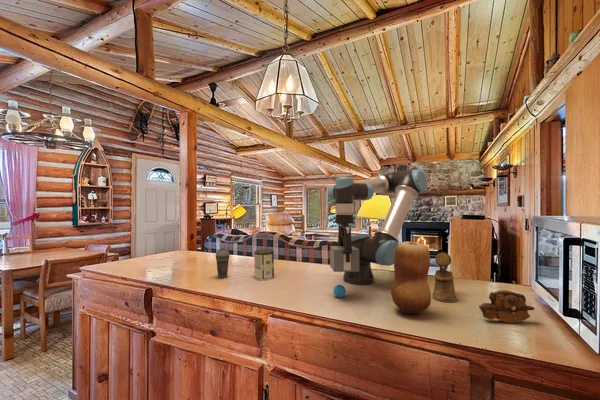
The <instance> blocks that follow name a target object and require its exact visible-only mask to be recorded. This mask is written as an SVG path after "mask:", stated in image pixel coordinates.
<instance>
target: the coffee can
mask: <svg viewBox="0 0 600 400" xmlns="http://www.w3.org/2000/svg"><path fill="white" fill-rule="evenodd" d="M253 253H254V279H255V280H259V281H266V280H267V281H269V280H273V279H274V278H275V258H274V257H275V256H274V255H275V250H273V249H258V250H255V251H254V252H253Z"/></svg>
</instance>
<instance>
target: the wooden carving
mask: <svg viewBox="0 0 600 400" xmlns="http://www.w3.org/2000/svg"><path fill="white" fill-rule="evenodd" d="M488 299H489V300H490V302H485V303H484V302H483V303H482V304H480V305H478V308H479V309H480V312H481V313H482V317H483V318H485V319H487V320H489V321H491V320H495V319H497V320H499V321H501V322H504V323H508V324H509V323H510V324H511V323H512V324H513V323H514V324H515V323H520V322H524V321H525V320H527V319H529V318H530V317H531V314H530V313H529V311H535V309H536V307H534V306H530V305H527V303H526V302H527V299H526V297H525V295H524V294H521V293H519V292H518V293H517V292H515V291H514V292H513V291H510V290H507V289H502V290H501V289H499V290H497V291H494V292H493V291H490V293H489V295H488Z"/></svg>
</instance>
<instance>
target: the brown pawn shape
mask: <svg viewBox="0 0 600 400" xmlns="http://www.w3.org/2000/svg"><path fill="white" fill-rule="evenodd" d="M435 263H436V264H437V265H438V266H439V269H437V270H435V273H434V283H433V285H434V286H433V290H432V293H431V298H432V299H434V300H435V301H438V302H441V303H456V302H458V301H457V300H458V299H457V295H456V291H455V285H454V283H455V282H454V275H453V272H452V271H450V270H447V267H448V266H449V265H450V264H451V263H452V257H451V256H450V255H449V253H447V252H446V251H441V252H438V253H437V254H436V255H435Z"/></svg>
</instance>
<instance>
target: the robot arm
mask: <svg viewBox="0 0 600 400" xmlns="http://www.w3.org/2000/svg"><path fill="white" fill-rule="evenodd" d="M427 179H428V178H427V175H426V174H425V172H424V171H423V170H422V169H415V168H413V169H409V170H400V171H394V172H389V173H386V174H382V175H378V176H376V177H375V178H370V179H364V180H359V181H354V177H352V176H351V177H350V176H339V177H337V178H335V182H334V183H335V184H333V185H331V186H329V188H328V190H327V196H328V198H329V199H330V200H331V201H334V203H335V205H334V206H333V207H334V209H335V213H336V214H335V224H339V225H338V226H337V227H338V228H337V229H338V230H337V231H338V234H337V235H338V236H337V245H336V246H344V252H343V254H344V270H351V253H352V246H354V247H356V248H357V249H359V272H343V276H342V277H343V278H342V281H343V282H345V283H348V284H351V285H361V286H362V285H370V284H373V283H374V282H375V275H374V273H373V270H372V267H371V264H375V265H379V266H387V267H389V266H392V265H393V266H394V257H395V250H396V247H397V246H398V244H400V243H399V239H398V237H399V234H400V232H401V229H402V226H403V225H404V223H405V220H406V218H407V216H408V215H407V214H408V213H409V210H410V208H411V205H412V203H413V201H414V200H416V199H418V197H419V195H420V193H425V192H426V190H427V188H428V180H427ZM375 193H377V194H378V193H380V194H384V193H387V194H388V193H390V194H392V193H393V194H395V196H394V198H393V200H392V203H391V204H390V207H389V208H388V211H387V214H386V216H385V218H384V219H383V223H382V225H381V227H380V230H377V231H375V232H374V234H373V236H372V237H371V236H370V234H355V235H352V228H351V227H350V226H349V225H352V224H354V215H353V214H354V210H355V209H354V201H369V200H371V199H372V198H373V196H374V194H375Z"/></svg>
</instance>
